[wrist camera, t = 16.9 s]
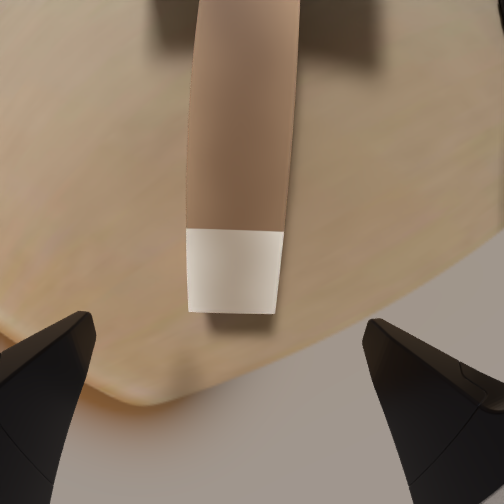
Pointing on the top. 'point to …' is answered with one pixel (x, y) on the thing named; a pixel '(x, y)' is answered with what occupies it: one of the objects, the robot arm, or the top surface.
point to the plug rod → (239, 152)
